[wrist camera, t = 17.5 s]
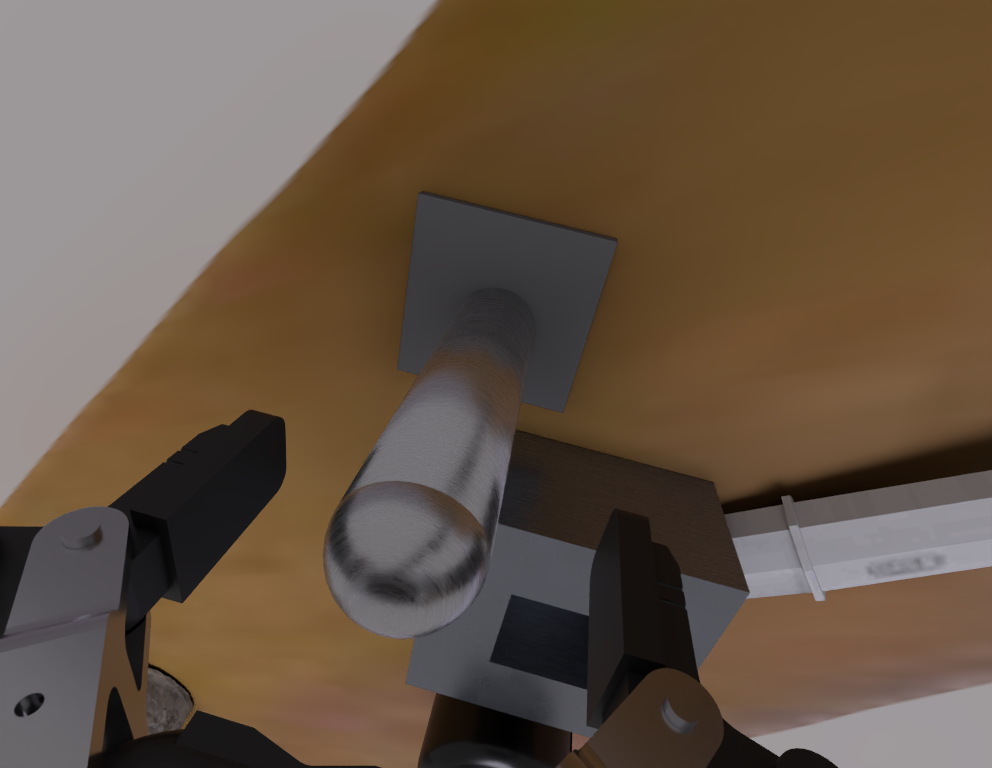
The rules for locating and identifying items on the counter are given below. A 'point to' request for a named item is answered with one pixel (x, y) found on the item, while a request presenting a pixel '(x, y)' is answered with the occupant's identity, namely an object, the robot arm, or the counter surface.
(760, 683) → the counter surface
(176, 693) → the spray can
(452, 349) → the grey metal cylinder
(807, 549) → the white elongated piece
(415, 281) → the key rest mat
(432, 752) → the ink bottle
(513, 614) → the block
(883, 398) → the counter surface
